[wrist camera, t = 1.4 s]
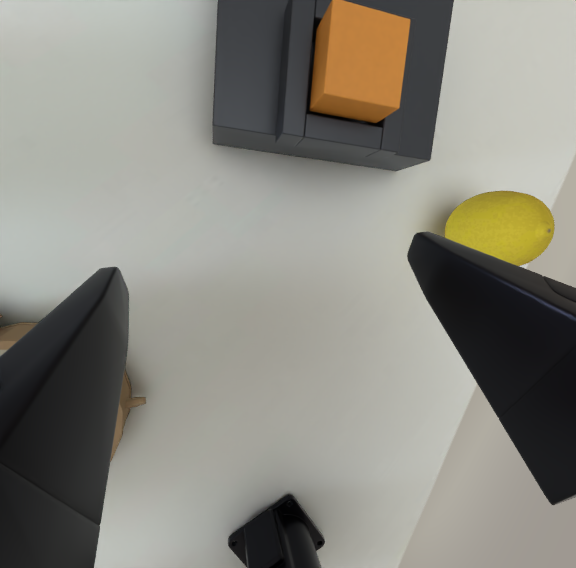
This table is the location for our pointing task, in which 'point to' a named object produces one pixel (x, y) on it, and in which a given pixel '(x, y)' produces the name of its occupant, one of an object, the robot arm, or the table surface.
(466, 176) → the table surface
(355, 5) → the key
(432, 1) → the push button
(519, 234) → the lemon
